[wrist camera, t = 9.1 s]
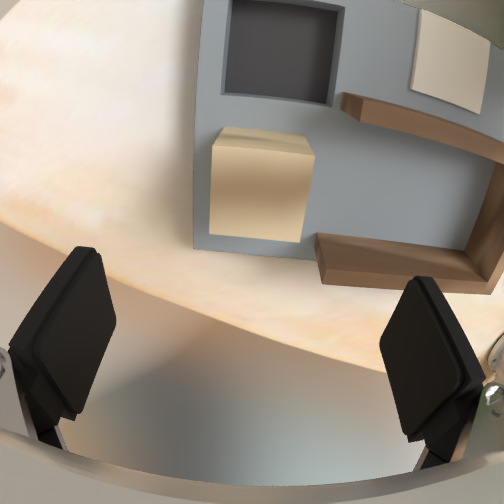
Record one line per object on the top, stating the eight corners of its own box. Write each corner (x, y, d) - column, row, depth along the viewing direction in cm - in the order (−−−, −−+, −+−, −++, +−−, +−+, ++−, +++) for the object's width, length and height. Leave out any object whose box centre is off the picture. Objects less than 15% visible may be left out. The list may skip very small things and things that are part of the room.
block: (292, 204, 22) (299, 242, 18) (220, 197, 22) (209, 234, 17) (303, 134, 19) (315, 156, 15) (224, 126, 19) (212, 145, 15)
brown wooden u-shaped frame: (467, 262, 24) (490, 294, 20) (313, 245, 23) (322, 284, 20) (510, 145, 17) (545, 165, 14) (342, 91, 17) (363, 99, 13)
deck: (451, 259, 26) (464, 277, 24) (199, 233, 26) (192, 251, 24) (507, 61, 15) (528, 65, 13) (213, -19, 15) (205, -30, 13)
